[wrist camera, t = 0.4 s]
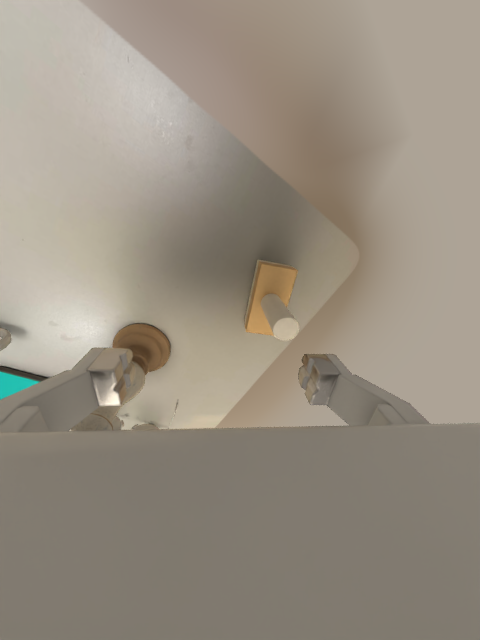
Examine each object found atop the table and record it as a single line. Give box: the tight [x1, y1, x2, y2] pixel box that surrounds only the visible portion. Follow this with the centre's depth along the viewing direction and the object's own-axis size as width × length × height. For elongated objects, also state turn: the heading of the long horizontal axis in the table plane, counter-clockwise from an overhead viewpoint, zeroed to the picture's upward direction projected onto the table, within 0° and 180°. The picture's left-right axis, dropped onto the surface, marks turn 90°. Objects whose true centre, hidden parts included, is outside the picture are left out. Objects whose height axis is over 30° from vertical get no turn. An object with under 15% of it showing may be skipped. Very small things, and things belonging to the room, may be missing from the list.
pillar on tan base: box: [244, 260, 299, 341], centre depth 27 cm, size 10×5×12 cm, turn 169°
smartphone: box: [0, 366, 48, 400], centre depth 37 cm, size 7×1×15 cm
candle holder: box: [71, 324, 170, 431], centre depth 26 cm, size 9×9×20 cm
